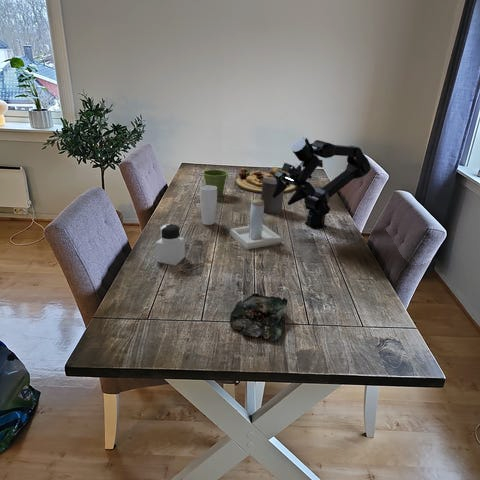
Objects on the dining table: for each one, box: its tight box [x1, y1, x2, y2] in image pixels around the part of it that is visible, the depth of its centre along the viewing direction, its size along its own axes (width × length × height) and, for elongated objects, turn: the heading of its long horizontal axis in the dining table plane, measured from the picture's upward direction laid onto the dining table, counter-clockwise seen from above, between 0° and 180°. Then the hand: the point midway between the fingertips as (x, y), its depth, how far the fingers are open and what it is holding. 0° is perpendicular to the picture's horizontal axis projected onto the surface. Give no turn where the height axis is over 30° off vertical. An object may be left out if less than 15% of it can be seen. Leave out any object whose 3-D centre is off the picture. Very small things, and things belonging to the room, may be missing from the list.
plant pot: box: [202, 169, 229, 198], centre depth 202 cm, size 12×12×11 cm
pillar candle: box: [260, 177, 285, 215], centre depth 185 cm, size 10×10×15 cm
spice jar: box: [248, 198, 265, 240], centre depth 156 cm, size 5×5×14 cm
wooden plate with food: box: [235, 166, 296, 195], centre depth 222 cm, size 32×32×8 cm
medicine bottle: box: [155, 223, 186, 266], centre depth 139 cm, size 7×7×12 cm
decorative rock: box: [229, 292, 288, 342], centre depth 111 cm, size 19×6×15 cm
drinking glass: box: [199, 184, 218, 226], centre depth 169 cm, size 7×7×15 cm
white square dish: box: [229, 224, 282, 251], centre depth 158 cm, size 14×14×2 cm
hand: (280, 200), depth 158 cm, fingers open, 9 cm apart
